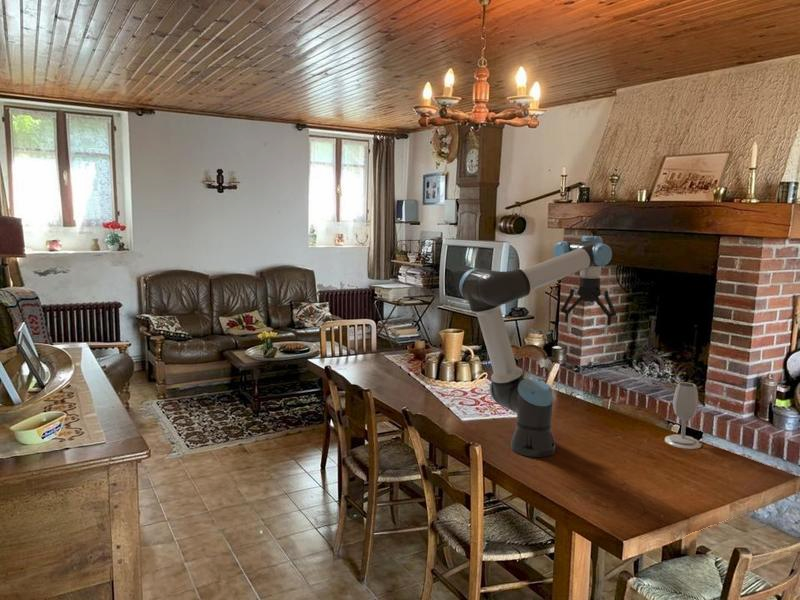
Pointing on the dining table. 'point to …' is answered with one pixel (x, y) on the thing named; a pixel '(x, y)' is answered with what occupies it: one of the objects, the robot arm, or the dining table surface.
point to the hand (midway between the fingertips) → (587, 332)
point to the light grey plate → (683, 446)
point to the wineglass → (685, 409)
